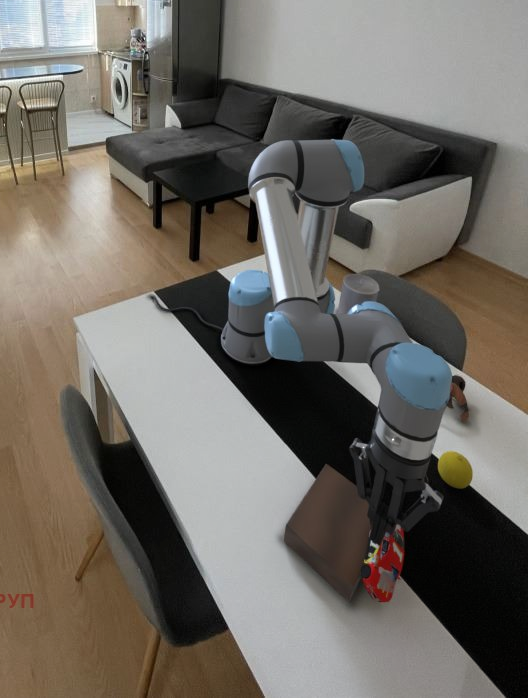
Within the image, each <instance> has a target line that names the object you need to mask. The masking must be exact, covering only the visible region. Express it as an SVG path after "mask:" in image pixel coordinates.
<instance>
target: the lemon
mask: <svg viewBox="0 0 528 698" xmlns="http://www.w3.org/2000/svg"><path fill="white" fill-rule="evenodd" d="M437 471H438V473H439V476H440V477H441V479H442V480H443V481H444V482H445V483H446V484H447V485H449V486H450V487H452V488H454V489H465V488H467V487H469V486H470V484H471V483H472V481H473V476H474V475H473V474H474V472H473V471H474V470H473V468H472V465H471V463H470V461H469V459H467V458H466V457H465V455H463V454H461V453H459V452H457V451H453V450H449V451H448V450H447V451H445V452H443V453H442V454H441V456H440V457H439V458H438V462H437Z"/></svg>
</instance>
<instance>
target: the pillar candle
mask: <svg viewBox="0 0 528 698" xmlns="http://www.w3.org/2000/svg"><path fill="white" fill-rule="evenodd" d="M379 292H380V285H379V283H378V282H377V281H376V280H375V279H373V278H372V277H370V276H367V275H364V274H361V273H349V274H346V275H345V276H344V277H343V278H342V286H341V290H340V295H339V302H338V307H337V313H336V314H348V312H349V311H350V309H351V308H352V307H353V306H355V305H357V304H358V305H359V304H362V303H363V302H367V301H372V302H377V301H378V298H379ZM377 303H378V302H377Z"/></svg>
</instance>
